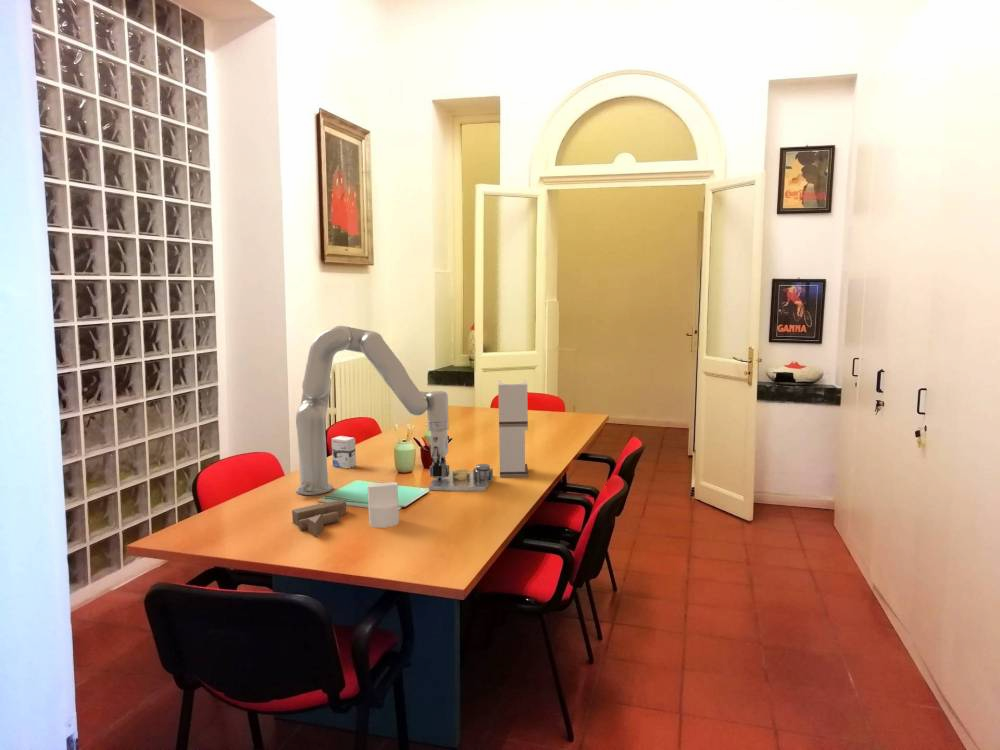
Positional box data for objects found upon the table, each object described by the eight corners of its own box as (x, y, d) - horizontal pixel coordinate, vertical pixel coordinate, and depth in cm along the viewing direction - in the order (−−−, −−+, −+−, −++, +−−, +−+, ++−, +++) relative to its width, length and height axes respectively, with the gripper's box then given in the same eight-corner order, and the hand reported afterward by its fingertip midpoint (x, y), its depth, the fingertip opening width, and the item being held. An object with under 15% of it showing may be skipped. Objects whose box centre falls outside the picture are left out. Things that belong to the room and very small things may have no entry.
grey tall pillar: (528, 476, 260) (527, 384, 256) (499, 477, 260) (498, 384, 256) (526, 468, 272) (525, 380, 267) (499, 469, 272) (498, 380, 267)
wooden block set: (288, 507, 213) (342, 495, 224) (289, 524, 213) (343, 512, 224) (311, 520, 199) (367, 507, 211) (312, 539, 200) (368, 525, 211)
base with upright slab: (370, 529, 207) (368, 490, 205) (367, 519, 216) (366, 482, 214) (400, 525, 209) (399, 487, 208) (397, 516, 218) (395, 479, 216)
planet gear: (447, 478, 251) (446, 464, 250) (428, 477, 252) (428, 464, 251) (450, 473, 258) (450, 459, 257) (432, 472, 258) (431, 459, 258)
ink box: (332, 466, 280) (330, 438, 278) (340, 463, 284) (339, 435, 283) (348, 469, 276) (347, 440, 274) (356, 466, 280) (355, 437, 279)
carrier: (489, 491, 243) (489, 473, 242) (429, 490, 245) (428, 472, 244) (495, 475, 263) (495, 458, 262) (439, 474, 265) (439, 458, 264)
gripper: (444, 430, 243) (445, 480, 245) (452, 420, 260) (453, 467, 263) (423, 430, 244) (424, 479, 246) (432, 420, 261) (433, 467, 263)
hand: (439, 472), depth 254 cm, fingers closed on planet gear, 6 cm apart
